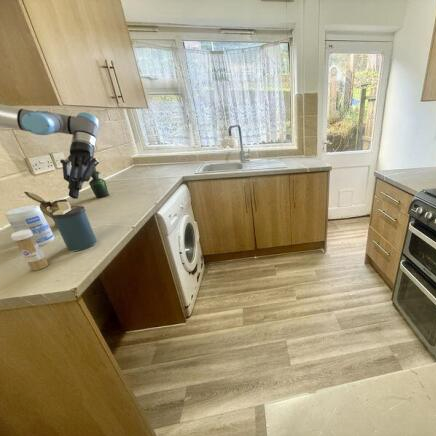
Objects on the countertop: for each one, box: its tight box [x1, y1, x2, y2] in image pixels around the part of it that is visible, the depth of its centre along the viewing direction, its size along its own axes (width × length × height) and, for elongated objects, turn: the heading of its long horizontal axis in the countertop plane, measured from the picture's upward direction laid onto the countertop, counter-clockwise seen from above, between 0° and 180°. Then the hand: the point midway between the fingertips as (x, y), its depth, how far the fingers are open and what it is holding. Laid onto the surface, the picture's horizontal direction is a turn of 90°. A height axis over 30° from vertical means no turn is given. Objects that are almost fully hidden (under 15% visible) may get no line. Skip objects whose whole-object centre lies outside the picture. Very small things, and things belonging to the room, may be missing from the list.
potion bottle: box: [88, 167, 110, 199], centre depth 150 cm, size 8×8×18 cm
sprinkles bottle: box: [10, 230, 50, 271], centre depth 80 cm, size 5×5×13 cm
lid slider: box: [53, 201, 72, 215], centre depth 86 cm, size 4×3×3 cm
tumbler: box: [51, 205, 97, 253], centre depth 93 cm, size 10×10×15 cm
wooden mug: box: [23, 191, 72, 227], centre depth 112 cm, size 9×14×18 cm, turn 126°
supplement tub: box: [4, 205, 55, 247], centre depth 96 cm, size 10×10×15 cm
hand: (73, 196), depth 93 cm, fingers closed
